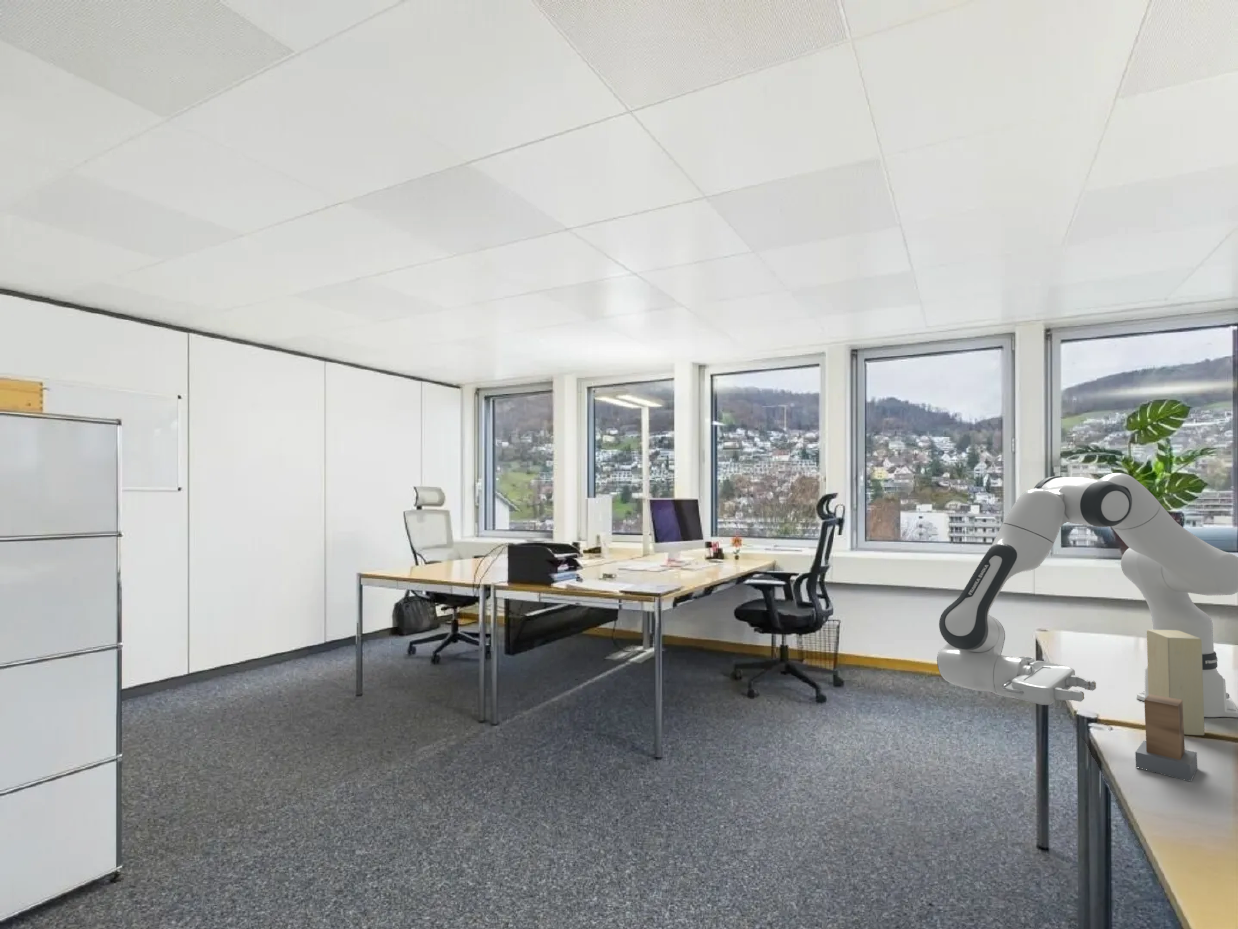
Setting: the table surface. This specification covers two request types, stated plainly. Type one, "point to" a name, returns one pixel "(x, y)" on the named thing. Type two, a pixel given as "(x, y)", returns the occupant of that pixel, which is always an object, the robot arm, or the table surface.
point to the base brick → (1167, 763)
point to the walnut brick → (1164, 726)
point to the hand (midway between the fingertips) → (1089, 691)
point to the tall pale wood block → (1178, 673)
